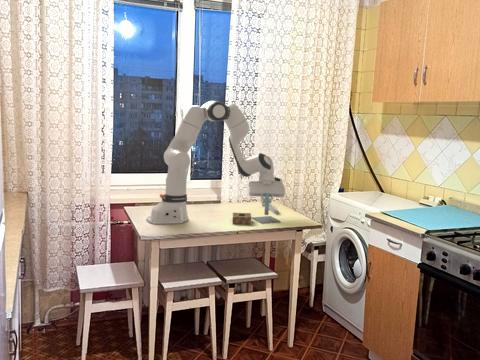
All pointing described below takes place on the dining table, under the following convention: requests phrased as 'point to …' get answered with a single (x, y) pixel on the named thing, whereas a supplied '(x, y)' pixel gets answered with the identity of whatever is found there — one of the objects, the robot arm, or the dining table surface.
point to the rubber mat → (265, 219)
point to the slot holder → (242, 218)
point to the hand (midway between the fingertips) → (267, 202)
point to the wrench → (271, 207)
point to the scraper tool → (266, 203)
